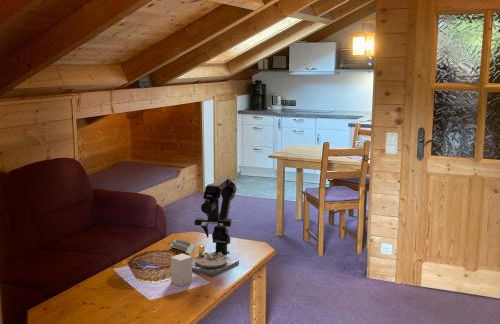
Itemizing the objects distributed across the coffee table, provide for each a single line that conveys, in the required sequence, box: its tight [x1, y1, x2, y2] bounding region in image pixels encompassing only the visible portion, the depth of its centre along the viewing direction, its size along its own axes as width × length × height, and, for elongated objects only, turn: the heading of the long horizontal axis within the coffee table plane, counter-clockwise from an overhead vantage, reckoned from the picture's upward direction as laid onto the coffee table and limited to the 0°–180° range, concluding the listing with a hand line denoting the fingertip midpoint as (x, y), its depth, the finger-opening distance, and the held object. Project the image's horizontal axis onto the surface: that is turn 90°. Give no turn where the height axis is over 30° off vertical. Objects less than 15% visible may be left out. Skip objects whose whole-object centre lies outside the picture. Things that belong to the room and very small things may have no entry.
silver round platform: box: [195, 244, 228, 268], centre depth 272 cm, size 16×16×7 cm
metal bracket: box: [169, 238, 197, 255], centre depth 297 cm, size 14×6×15 cm
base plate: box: [192, 256, 240, 278], centre depth 273 cm, size 22×19×2 cm
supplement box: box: [170, 253, 193, 287], centre depth 251 cm, size 7×7×13 cm
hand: (213, 237), depth 277 cm, fingers open, 5 cm apart
